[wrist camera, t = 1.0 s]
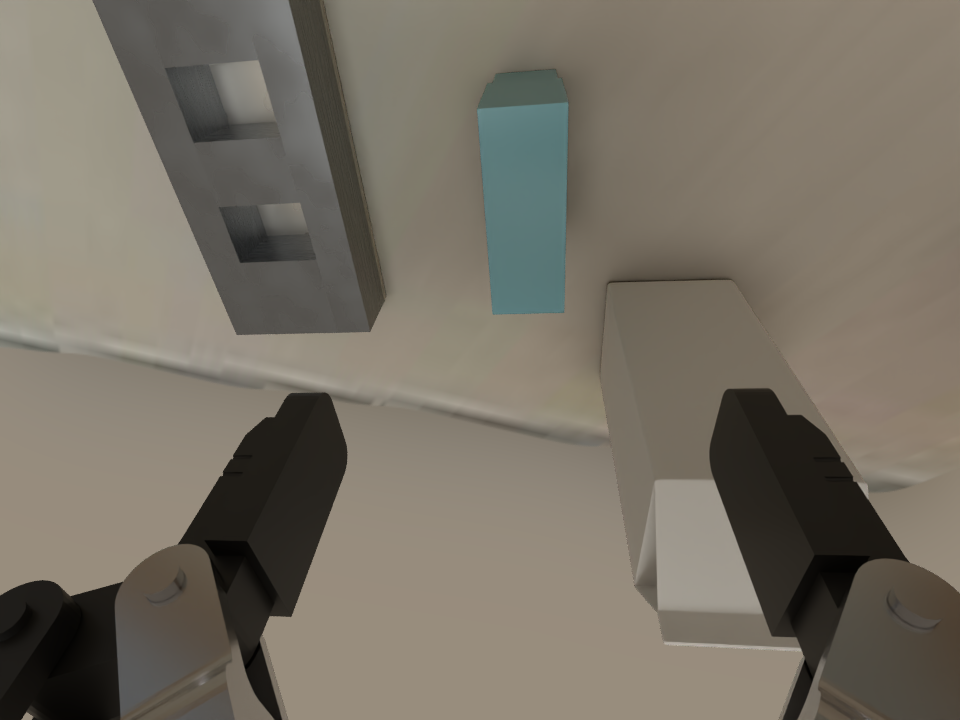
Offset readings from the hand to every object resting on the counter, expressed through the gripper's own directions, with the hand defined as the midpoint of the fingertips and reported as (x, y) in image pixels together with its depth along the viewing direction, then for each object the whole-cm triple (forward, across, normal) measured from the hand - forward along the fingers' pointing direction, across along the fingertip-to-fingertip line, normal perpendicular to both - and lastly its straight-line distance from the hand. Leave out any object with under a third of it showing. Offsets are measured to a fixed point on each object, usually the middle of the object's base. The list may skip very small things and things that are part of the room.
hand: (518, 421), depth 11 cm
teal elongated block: (+20, 0, 0) cm, 20 cm away
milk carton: (+20, -8, +11) cm, 24 cm away
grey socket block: (+20, +13, -1) cm, 24 cm away
